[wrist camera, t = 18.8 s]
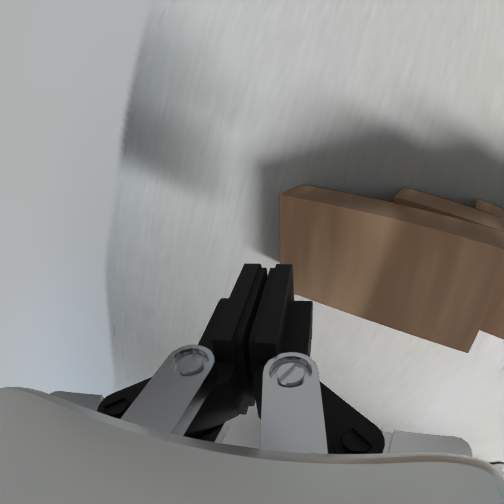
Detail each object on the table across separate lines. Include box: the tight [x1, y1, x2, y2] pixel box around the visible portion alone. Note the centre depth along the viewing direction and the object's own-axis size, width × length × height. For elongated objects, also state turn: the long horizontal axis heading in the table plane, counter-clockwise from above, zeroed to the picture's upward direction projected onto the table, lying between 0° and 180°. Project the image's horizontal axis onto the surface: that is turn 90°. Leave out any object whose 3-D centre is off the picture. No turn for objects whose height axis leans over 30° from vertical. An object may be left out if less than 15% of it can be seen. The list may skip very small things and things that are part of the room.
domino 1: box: [280, 185, 504, 353], centre depth 13 cm, size 2×5×10 cm
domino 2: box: [393, 187, 504, 339], centre depth 12 cm, size 2×5×10 cm
